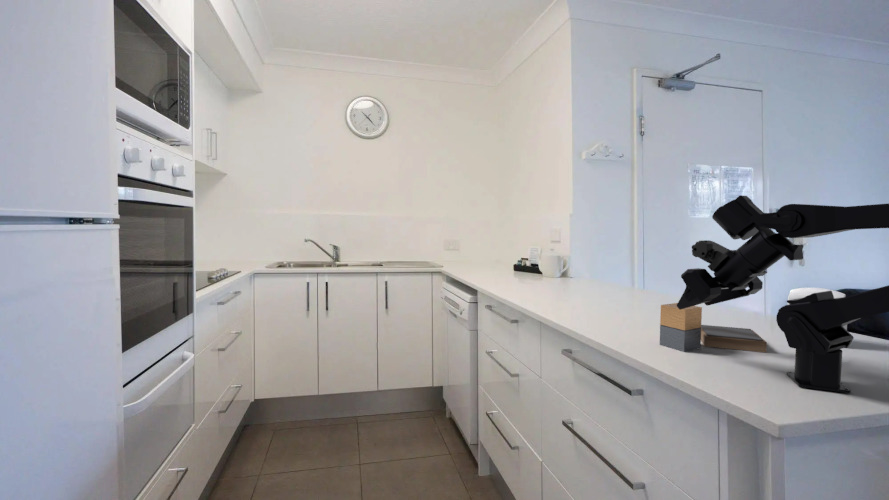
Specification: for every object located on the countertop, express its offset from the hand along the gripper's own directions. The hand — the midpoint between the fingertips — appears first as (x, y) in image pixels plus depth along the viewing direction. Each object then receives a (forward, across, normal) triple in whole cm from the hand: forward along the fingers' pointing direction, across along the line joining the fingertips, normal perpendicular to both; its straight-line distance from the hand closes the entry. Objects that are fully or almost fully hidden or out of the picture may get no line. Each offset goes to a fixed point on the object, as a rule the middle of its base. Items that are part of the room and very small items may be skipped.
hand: (692, 305), depth 87 cm
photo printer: (0, -31, +13) cm, 34 cm away
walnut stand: (+6, -13, +7) cm, 16 cm away
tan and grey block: (+8, 0, +5) cm, 10 cm away
